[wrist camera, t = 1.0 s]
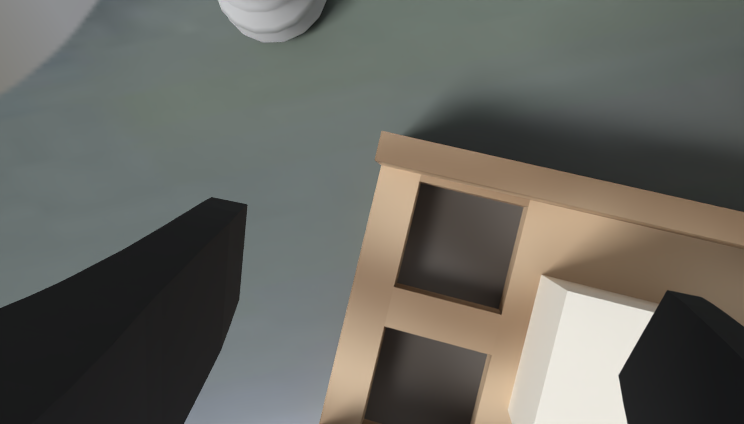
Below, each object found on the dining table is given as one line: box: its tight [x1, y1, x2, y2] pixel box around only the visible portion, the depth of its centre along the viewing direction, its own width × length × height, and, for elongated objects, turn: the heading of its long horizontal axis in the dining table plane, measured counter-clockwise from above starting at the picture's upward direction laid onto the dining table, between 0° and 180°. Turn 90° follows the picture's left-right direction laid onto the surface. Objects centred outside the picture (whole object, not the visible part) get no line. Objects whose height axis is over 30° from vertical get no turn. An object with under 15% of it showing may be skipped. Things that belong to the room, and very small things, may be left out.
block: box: [508, 275, 659, 424], centre depth 18 cm, size 5×5×4 cm
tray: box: [319, 131, 744, 424], centre depth 20 cm, size 12×24×4 cm, turn 77°
